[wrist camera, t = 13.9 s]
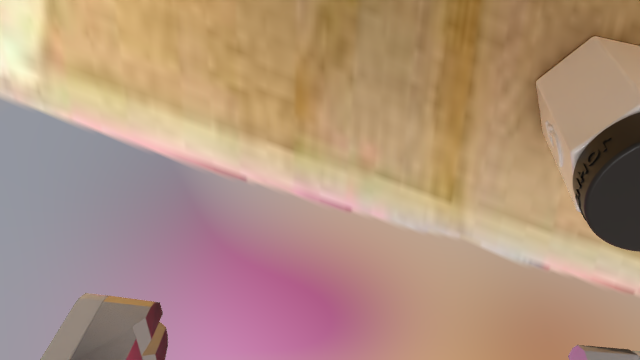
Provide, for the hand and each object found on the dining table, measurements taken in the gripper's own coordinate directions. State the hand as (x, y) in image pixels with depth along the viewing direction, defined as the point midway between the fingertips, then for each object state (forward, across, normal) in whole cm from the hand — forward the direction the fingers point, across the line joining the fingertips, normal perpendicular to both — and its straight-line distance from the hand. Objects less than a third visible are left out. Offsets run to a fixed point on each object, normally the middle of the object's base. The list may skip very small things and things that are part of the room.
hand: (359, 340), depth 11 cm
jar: (+29, -16, +8) cm, 34 cm away
